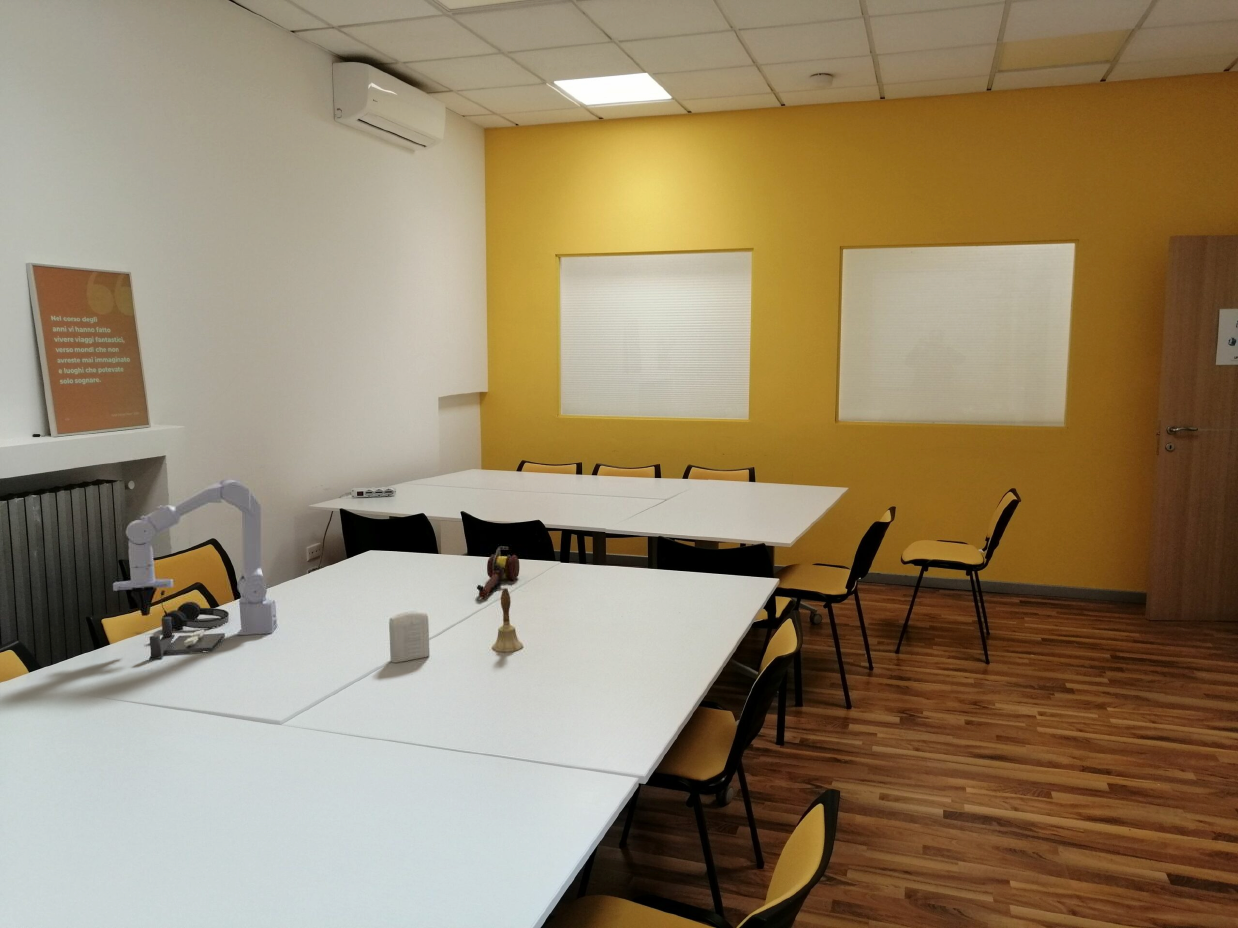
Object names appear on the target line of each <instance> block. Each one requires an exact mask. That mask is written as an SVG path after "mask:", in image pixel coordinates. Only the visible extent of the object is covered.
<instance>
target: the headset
mask: <svg viewBox="0 0 1238 928" xmlns="http://www.w3.org/2000/svg"><path fill="white" fill-rule="evenodd" d="M165 592H166V591H165V590H161V591H160V603H161V608H162V610H163V613H164V615H163V616H162V617H161V619H162V618H164V617H171V625H172V631H178V630H180V629H182V628H184V627H185V628H186V627H187V628H192V629H214V628H213V627H215V628H218V627H217V626H219V627H222V626H224V625H226V624H227V623H228V622H229V620H230V619H229V617H230V615H229V614H230V613H229V612H228V611H227V610H225V609H221V608H214V607H213V608H211V607H201V605H200V604H198V603H196V602H194V601H185V602H183V603H182V604H181V605H180V606H178V607H177V609H174V610H170V611H168V612H167V610H165V608H164V605H163V596H164V595H165ZM199 616H215V617H218V618H213V619H205V620H203V619H202V620H201V619H199V620H197V619H198V618H199ZM225 623H226V624H225ZM223 624H224V625H223ZM221 625H222V626H221ZM176 629H177V630H176Z"/></svg>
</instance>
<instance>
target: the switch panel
mask: <svg viewBox="0 0 1238 928" xmlns="http://www.w3.org/2000/svg"><path fill="white" fill-rule="evenodd" d="M191 635H192V634H187V635H186V634H185V635H178V636H177V638H175V639H173V640H172V642H171V643H170V645H169V646H168V647H167V648H166V649H165V650H164V656H166V655H179V654H178V653H184V654H191V653H190V652H200V653H204V652H203V651H212V650H213V649H214V648H215V647H216V646H217V645H220V643H221V642H222V641H223V640H224V639H225V638H226V633H225V632H220V633H204V634H203V635H202V636H201V637H198V640H197V641H196V642H195V643H194V644H190V645H187V646H185V644H184V642H185V641H186V640H187V639H188V638H191ZM224 637H225V638H224ZM223 638H224V639H223ZM222 639H223V640H222ZM221 640H222V641H221ZM217 647H218V646H217ZM217 647H216V648H217ZM216 648H215V649H216ZM215 649H214V650H215ZM214 650H213V651H214ZM213 651H212V652H213Z"/></svg>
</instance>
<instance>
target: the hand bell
mask: <svg viewBox="0 0 1238 928" xmlns="http://www.w3.org/2000/svg"><path fill="white" fill-rule="evenodd" d="M500 605H501V609H502V621H503V622H502V624H503V625H501V626H499V627H498V632H497V636H496V637H497V638H496V640H495V642H494V643H493V645H492V646H491V649H492V650H493V651H494V652H498V653H511V652H512V653H513V652H516V651H520V650H521V649H522V648H524V645H523V643H522V642H521V641H520V639H519V637H518V635H517V633H516V632H517V631H516V628H515V626H513V625H511V624H510V623H511V622H510V621H511V620H510V607H511V595H510V593H509V590H508V587H507V588H506V587H503V588H502V591H501V596H500Z"/></svg>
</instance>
